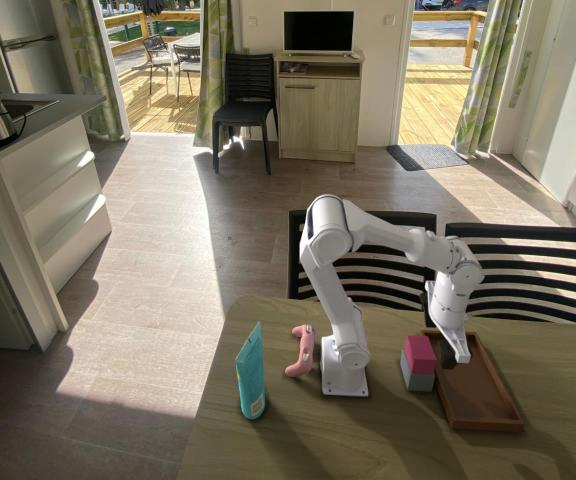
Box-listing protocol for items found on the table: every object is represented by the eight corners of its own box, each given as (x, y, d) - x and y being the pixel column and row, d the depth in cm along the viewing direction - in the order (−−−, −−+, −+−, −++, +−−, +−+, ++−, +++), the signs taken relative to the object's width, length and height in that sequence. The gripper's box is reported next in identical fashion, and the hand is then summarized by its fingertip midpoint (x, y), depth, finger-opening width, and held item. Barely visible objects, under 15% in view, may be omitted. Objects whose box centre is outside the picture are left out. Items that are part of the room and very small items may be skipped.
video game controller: (301, 386, 64) (316, 371, 62) (282, 376, 64) (297, 360, 62) (307, 338, 73) (320, 323, 71) (291, 328, 73) (304, 313, 71)
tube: (252, 378, 64) (248, 315, 58) (272, 389, 62) (270, 325, 56) (232, 420, 58) (226, 354, 52) (254, 434, 56) (249, 368, 50)
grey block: (407, 390, 62) (410, 375, 61) (399, 362, 67) (402, 347, 66) (431, 391, 62) (435, 376, 61) (422, 363, 67) (425, 348, 65)
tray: (451, 428, 57) (453, 420, 56) (419, 337, 72) (420, 329, 71) (521, 432, 56) (524, 424, 55) (474, 339, 72) (476, 332, 71)
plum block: (411, 373, 61) (414, 359, 60) (404, 349, 65) (406, 335, 64) (433, 374, 61) (436, 360, 59) (424, 350, 65) (427, 335, 64)
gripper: (494, 339, 50) (477, 390, 54) (452, 266, 64) (441, 311, 68) (452, 337, 50) (438, 388, 55) (419, 264, 64) (410, 309, 68)
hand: (438, 345), depth 61 cm, fingers open, 7 cm apart
